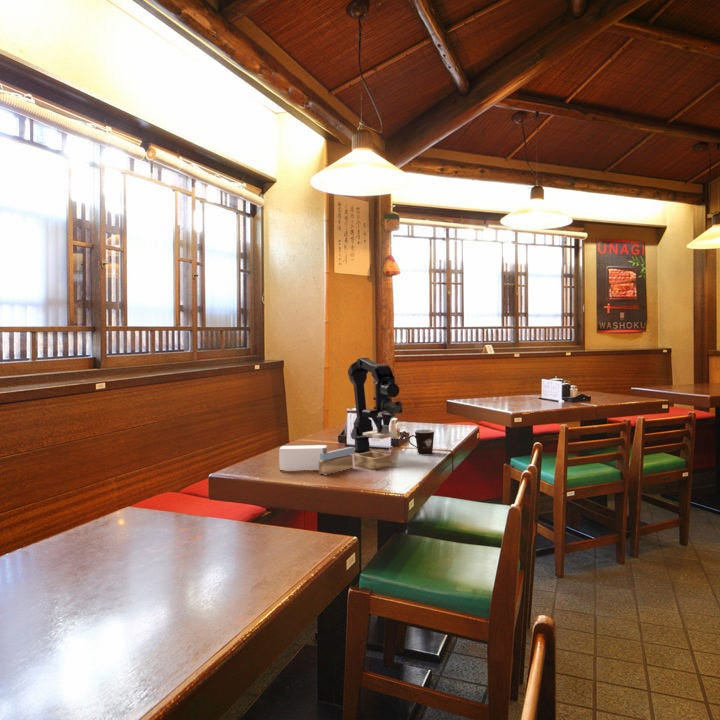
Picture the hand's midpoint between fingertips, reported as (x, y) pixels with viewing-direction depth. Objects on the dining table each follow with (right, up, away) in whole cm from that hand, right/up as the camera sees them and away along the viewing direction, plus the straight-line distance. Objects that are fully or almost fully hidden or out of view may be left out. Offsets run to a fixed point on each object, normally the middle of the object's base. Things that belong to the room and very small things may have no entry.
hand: (383, 431), depth 235 cm
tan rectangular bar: (-19, -14, -15) cm, 28 cm away
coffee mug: (+18, -12, +13) cm, 25 cm away
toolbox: (-4, -13, -7) cm, 16 cm away
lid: (-1, -2, +1) cm, 2 cm away
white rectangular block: (-33, -14, -10) cm, 37 cm away
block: (-19, -8, -15) cm, 25 cm away
